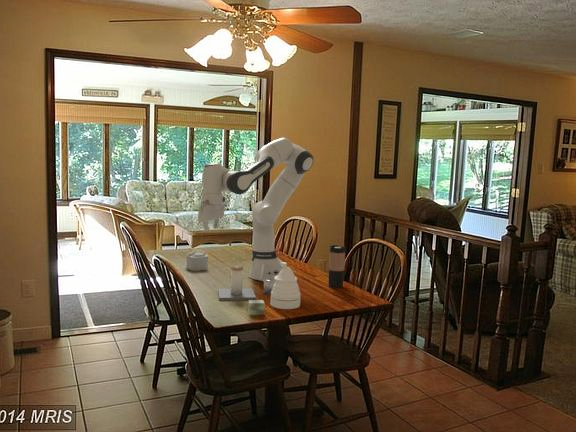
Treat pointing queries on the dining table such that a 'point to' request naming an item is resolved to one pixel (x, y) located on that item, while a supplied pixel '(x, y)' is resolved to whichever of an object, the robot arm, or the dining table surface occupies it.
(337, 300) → the dining table surface
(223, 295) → the serving board
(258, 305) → the sage block
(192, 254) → the lumpy-topped squat cylinder
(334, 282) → the travel mug
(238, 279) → the white lidded jar
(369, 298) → the dining table surface
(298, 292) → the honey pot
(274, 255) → the robot arm
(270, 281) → the metal tin
